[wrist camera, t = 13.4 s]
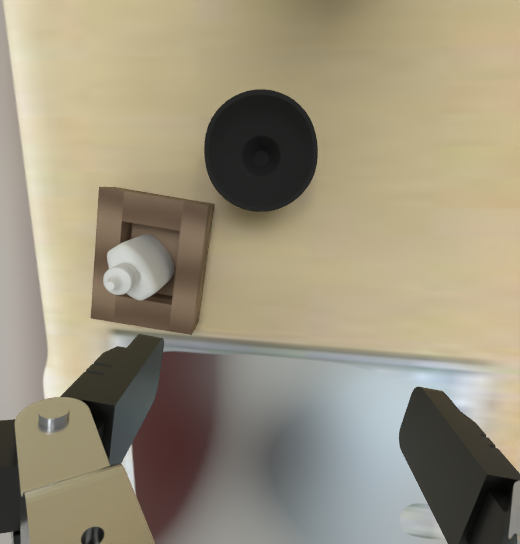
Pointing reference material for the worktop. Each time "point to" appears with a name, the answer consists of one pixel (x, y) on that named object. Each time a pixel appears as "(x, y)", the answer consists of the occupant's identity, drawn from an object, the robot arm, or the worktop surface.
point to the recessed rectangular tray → (176, 239)
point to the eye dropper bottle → (138, 267)
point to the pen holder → (260, 150)
